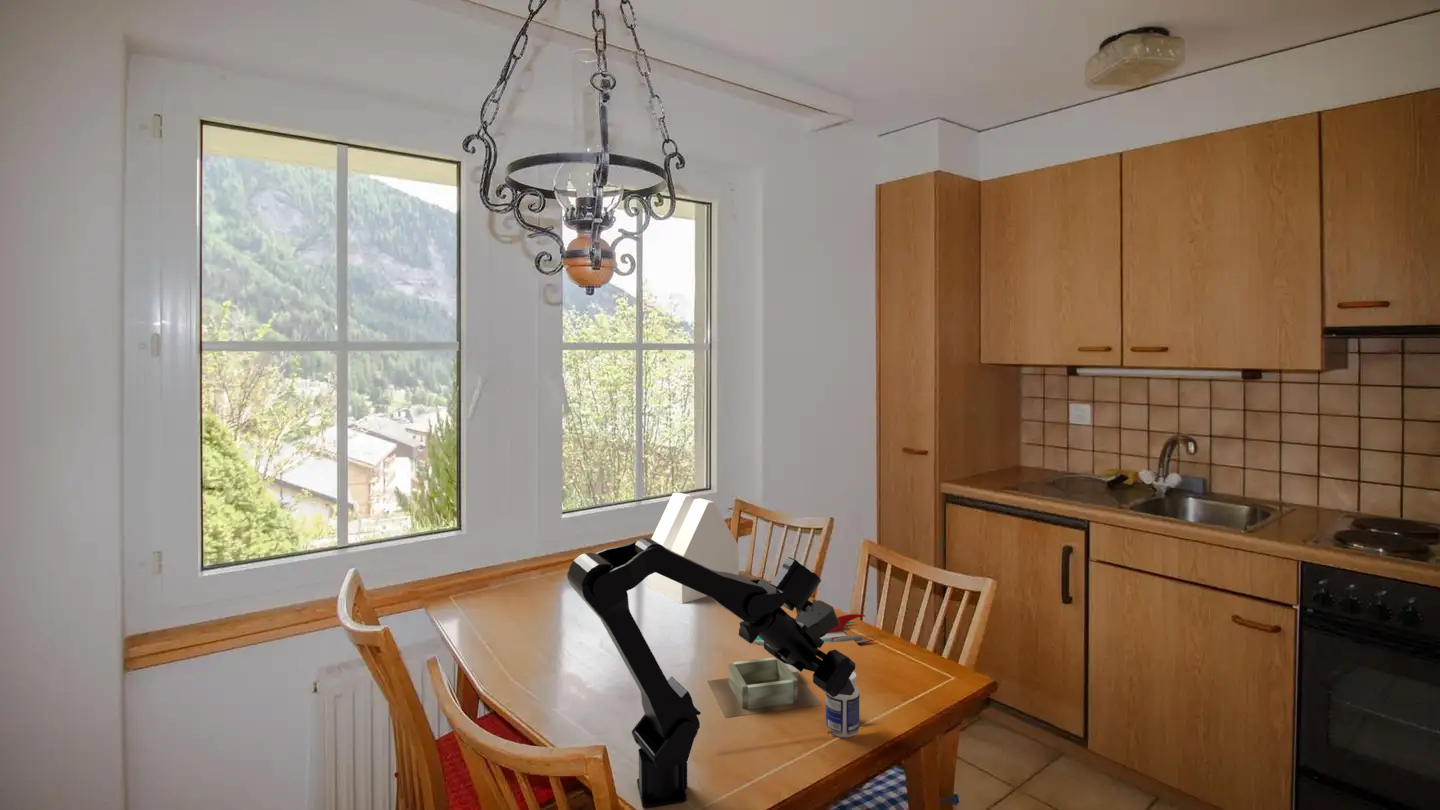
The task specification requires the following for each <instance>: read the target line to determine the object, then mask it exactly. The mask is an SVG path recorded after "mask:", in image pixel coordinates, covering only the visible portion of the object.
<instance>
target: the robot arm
mask: <svg viewBox="0 0 1440 810" xmlns="http://www.w3.org/2000/svg"><path fill="white" fill-rule="evenodd" d="M655 572H656V573H658V574H660V575H663V576H665V577H667V578H669V579H671V580H674V581H676V582H678V583H680V584H683V585H685V586H687V587H689V588H691V589H694V590H696V591H698V592H700V593H702V594H705V595H707V596H706V597H709V598H710V599H712V600H713V601H714V602H715V603H717V604H718V605H719V606H721V607H722V608H724V609H725V610H727V611H729V612H730V613H731V614H732V615H734V616H735V617H737V618H739V619H740V620H742V621H739V628H738V636H739V637H740V638H742V639H743V640H744V641H746V642H747V643H749V645H750V644H753V643H754V642H755V639H756V638H757V636H759V637H760V638H761V639H762V640H764V645H763V649H764V650H766V652H768V654H770V655H771V656H773V657H775V658H777V659H779V660H780V661H782V662H783V663H786V664H789V665H792V666H793V667H795V668H796V669H797V671H798V672H801V673H802V672H803V670H805V671H809V672H813V674H812V683H813V684H814V685H815V686H816V687H818V688H819V689H821V690H822V691H823V692H825V694H826V693H827V694H829V695H830V696H832V697H835V696H837V695H838V694H842V695H852V694H853V692H854V691H855V689H854V687H853V685H852V683H851V681H850V679H849V677H850V676H851V674H852V673H853V671H854V672H855V670H856V663H855V662H854V661H853V660H852V659H851V658H850V657H849V656H847V655H845V654H843V653H842V652H840V651H838V650H837V649H833V650H828V652H827V653H825V652H824V651H822V650H820V649H821V648H822V646H823V645H824V644H825V641H823V640H822V639H821V637H823V636H825V635H826V634H827V633H828V632H830V631H831V630H832V629H833V628H836V627H837V626H838V625H839V621H838V618H837V617H838V616H837V614H836V611H835V609H834V607H833V606H831V604H828V603H827V602H824V601H822V600H820V599H819V600H816V599H812V600H809V599H810V597H811V596H812V595H813V593H814V592H815V590H816V589H817V588H818V586H819V584H820V583H821V581H822V579H821V578H820V576H818V575H817V573H815V572H813V571H812V570H810V569H808V568H807V567H806V566H804V565H803V564H801V563H800V562H799V561H798V560H797V559H794V557H793V558H792V557H790V556H788V557H787V558H786V559H785V561H784V562H783V565H782V566H781V568H780V570H779V571H778V572H777V574H776V575H775V576H774V578H773V579H772V581H771V582H770V583H769V582H767V581H765V580H763V579H761V578H757V579H755V578H754V579H748V578H747V577H745V576H743V575H740V574H739V575H736V574H732V573H727V572H718V571H714V570H711V569H709V568H707V567H705V566H703V565H701V564H698V563H696V562H694V561H692V560H690V559H688V558H686V557H684V556H682V555H679V554H677V553H675V552H673V551H671V550H669V549H667V548H665V547H663V546H662V545H660V544H659V543H657V542H655V541H654V540H652V538H649V537H644V538H639V539H638V540H635V541H632V542H629V543H628V544H622V545H617V546H613V547H609V548H605V549H603V550H600V551H598V552H594V553H593V552H586V553H585V552H584V553H582V554H580V555H579V556H577V557H576V558H575V559H574V560H573V561H572V562H571V564H570V565H569V569H568V572H567V575H566V576H567V580H568V583H569V585H570V586H571V588H572V589H573V590H574V591H575V593H577V594H578V596H579V597H580V599H582V600H583V601H584V602H585V604H586V605H587V606H588V607H589V608H590V609H591V610H592V612H594V614H595V615H596V616H597V617H598V618H599V619H600V621H601V623H602V625H603V627H604V628H605V630H606V631H607V633H608V636H609V637H610V639H611V641H612V642H613V644H614V646H615V648H616V650H617V651H618V653H619V655H620V657H621V659H622V661H623V662H624V664H625V666H626V667H627V670H628V671H629V673H630V674H631V677H632V678H633V680H634V682H635V684H636V686H637V687H638V690H640V695H641V696H640V698H641V706H642V709H643V712H644V715H642V717H641V718H640V720H639V721H638V723H637V724H636V725H635V726H634V727H633V729H632V730H631V735H632V738H633V740H634V742H635V743H636V745H638V747H640V748H639V749H638V778H637V779H636V784H637V789H638V794H639V798H640V799H639V800H640V803H641V807H642V808H647V809H648V808H651V807H659V806H665V805H669V804H676V803H683V802H686V801H687V793H686V790H687V789H688V760H689V758H690V754H691V750H692V747H693V745H694V741H695V738H696V736H697V735H698V731H699V729H700V727H701V723H700V720H699V717H698V716H699V715H701V711H700V710H699V709H698V708H697V707H695V705H694V702H693V698H692V695H691V694H690V692H689V691H688V690H687V689H686V688H685V687H684V686H683V685H681V683H679V681H677V680H676V679H675V678H674V677H673V676H670V677H669V678H668V679H667V678H666V675H665V674H664V672H663V670H662V668H661V666H660V665H659V663H658V661H657V660H656V657H655V655H654V654H653V652H652V649H651V648H650V646H649V644H648V642H647V641H646V639H645V637H644V635H643V632H642V631H641V630H640V628H639V626H638V624H637V622H636V621H635V618H634V617H633V614H632V613H631V610H630V605H629V603H630V602H629V594H628V591H631V590H632V589H634V588H636V587H637V586H638V585H639V584H640V583H642V582H643V581H644V580H645V579H646V578H648V575H650V574H653V573H655ZM782 607H784V608H786V609H788V610H789V611H791V612H793V611H794V610H795V612H796V617H792V616H791V615H789V614H788V612H786V611H785V610H784V609H783V608H782Z"/></svg>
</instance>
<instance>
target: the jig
mask: <svg viewBox="0 0 1440 810" xmlns="http://www.w3.org/2000/svg"><path fill="white" fill-rule="evenodd" d="M706 682H707V684H708V686H709V689H710V690H711V692H712V694H713V696H714V698H715V700H716V702H717V704H718V706H719V709H720V710H721V712H722V714H723V716H724V718H725V719H728V718H735V717H743V716H751V715H758V714H765V713H770V712H771V713H772V712H779V711H786V710H793V709H794V710H795V709H799V708H800V709H801V708H808V707H816V706H822V704H821V702H820V701H819V700H818V698H817V697H816V695H814V693H813V692H812V691H811V690H810V689H811V688H809V687H808V685H807V684H806V683H805V681H804V679H802V678H801V676H800V675H799V674H798V680H797V679H796V677H795V676H794V675H793V673H792V672H791V671H790V669H789V668H788V667H787V666H786V664H785V663H783V662H782V661H780V660H779V659H777V658H776V657H774V656H773V657H765V658H757V659H749V660H741V661H733V662H732V663H728V678H727V677H726V678H719V679H711V680H707V681H706Z"/></svg>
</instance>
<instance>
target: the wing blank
mask: <svg viewBox="0 0 1440 810" xmlns="http://www.w3.org/2000/svg"><path fill="white" fill-rule="evenodd" d="M785 664H786V663H785ZM786 666H787V667H788V668H789V669H790V671H791V672H792V673H793V675H794V676H795V677H796V679H797V680H798V675H799V670H797V669H796V668H795V667H793V666H792V665H789V664H786Z"/></svg>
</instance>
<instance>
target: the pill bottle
mask: <svg viewBox="0 0 1440 810" xmlns="http://www.w3.org/2000/svg"><path fill="white" fill-rule="evenodd" d="M849 679H850V681H851V683H852V685H853V687H854V689H855V691H854V692H853V694H852V695H842V694H838V695H837V696H835V697H832V696H830V695H829V694H827V693H826V692H825V725H826V727H827V728H828V729H829V731H828V733H829V734H830V735H832V736H834V737H838V738H851V737H854V736H856V735H857V734H858V733H859V731H860V689H859V687H858V686H857V685H856V684H857V681H858V679H857V673H856V672H855V670H854V671H853V673H852V674H851V676H850V677H849Z"/></svg>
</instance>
